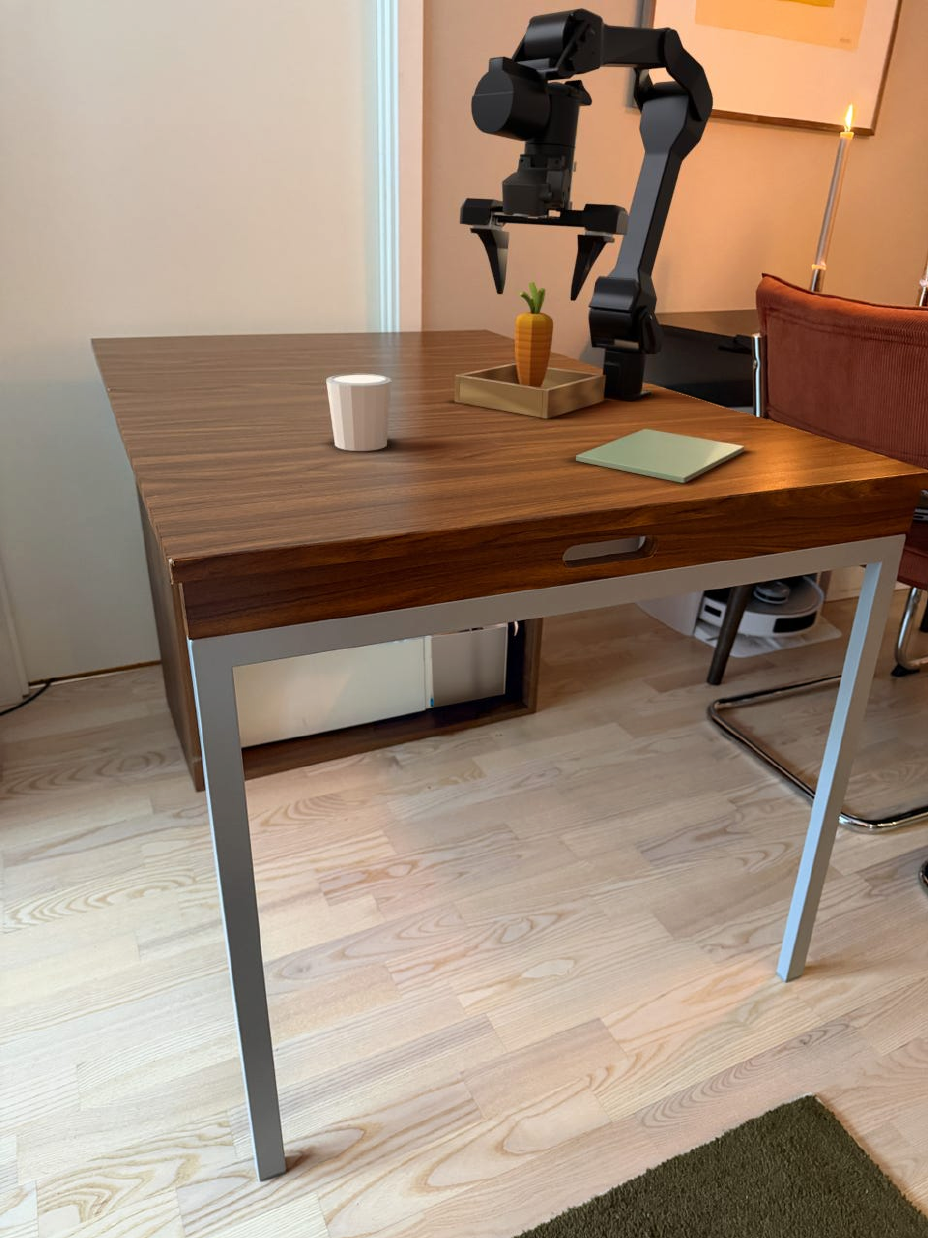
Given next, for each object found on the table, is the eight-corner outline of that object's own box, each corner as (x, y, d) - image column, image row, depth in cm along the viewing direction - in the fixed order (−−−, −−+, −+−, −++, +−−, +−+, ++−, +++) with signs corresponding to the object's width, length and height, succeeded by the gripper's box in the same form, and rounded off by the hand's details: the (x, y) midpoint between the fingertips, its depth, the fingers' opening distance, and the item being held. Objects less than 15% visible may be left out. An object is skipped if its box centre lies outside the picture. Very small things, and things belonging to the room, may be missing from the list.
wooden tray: (515, 387, 122) (516, 362, 121) (603, 401, 115) (606, 375, 113) (454, 401, 112) (454, 375, 110) (546, 418, 104) (548, 390, 102)
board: (644, 433, 98) (645, 428, 98) (743, 451, 92) (744, 446, 91) (575, 460, 87) (576, 455, 86) (683, 483, 80) (684, 477, 80)
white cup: (354, 433, 95) (352, 370, 92) (405, 442, 92) (404, 377, 89) (315, 446, 89) (312, 379, 86) (367, 455, 86) (366, 386, 83)
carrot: (546, 406, 111) (553, 284, 104) (509, 404, 111) (514, 283, 105) (550, 399, 115) (557, 282, 108) (514, 396, 116) (520, 280, 109)
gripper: (443, 135, 89) (436, 291, 95) (614, 138, 83) (594, 305, 89) (483, 149, 99) (473, 290, 105) (638, 153, 92) (618, 303, 99)
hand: (535, 297), depth 99 cm, fingers open, 9 cm apart
